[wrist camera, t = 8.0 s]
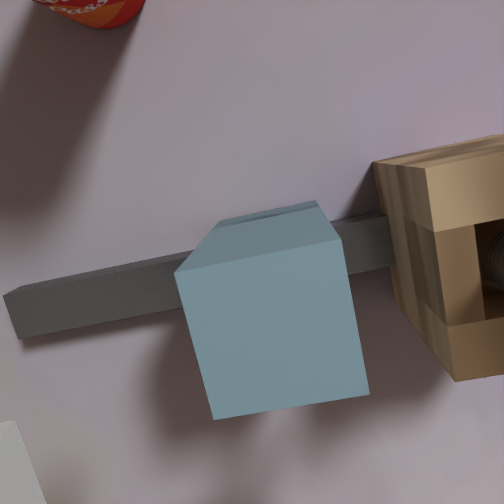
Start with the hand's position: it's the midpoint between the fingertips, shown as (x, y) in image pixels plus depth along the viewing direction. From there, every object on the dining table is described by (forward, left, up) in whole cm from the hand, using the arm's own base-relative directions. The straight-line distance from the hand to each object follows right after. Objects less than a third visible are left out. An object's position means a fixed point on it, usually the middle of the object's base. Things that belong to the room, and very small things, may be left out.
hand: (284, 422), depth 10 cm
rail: (-6, 0, -18) cm, 19 cm away
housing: (+10, 0, -18) cm, 20 cm away
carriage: (0, 0, -18) cm, 18 cm away
